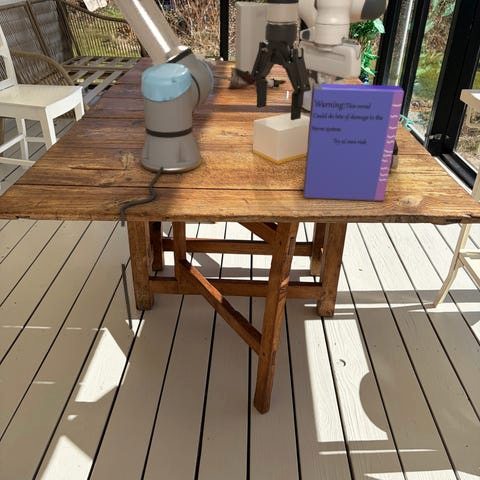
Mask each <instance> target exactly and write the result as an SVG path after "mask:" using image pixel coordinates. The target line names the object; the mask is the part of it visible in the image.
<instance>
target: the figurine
mask: <svg viewBox="0 0 480 480" xmlns="http://www.w3.org/2000/svg"><path fill="white" fill-rule="evenodd" d="M230 69H231V72H230V73H231V74H230V76H229V75H225V74H213V78H214V79H215V78H216V79H223V80H227V81H229V84H228V88H229V89H241V88H247V87H249V86H255V87H256V81H255V78H252V77H251V73H250V72H249V71H245V72H244V71H242V70H240V69H237V68H235V67H232V66H231V67H230ZM266 79H267V80H263V81H267V88H271V89H273V88H280V86H281V85H284V84H286V83H287V80H285V79H275V78H274V77H272V78H266Z"/></svg>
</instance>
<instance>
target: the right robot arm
mask: <svg viewBox="0 0 480 480" xmlns="http://www.w3.org/2000/svg"><path fill="white" fill-rule="evenodd" d="M298 3H299V6H298V17H299V18H300V19H302V20H303V22H304V23H305V25H306V26H307V28H306V29H303V30H301V31H300V32H299V39H300V42H299V44H298V48H303V49H304V61H305V65H306V68H307V69H309V82H310V86H311V90H310V91H306V92H304V97H303V106H301V108H303V109H304V110H306V111H309V112H310V109H311V98H312V87H313V84H346V82H345V79H346V80H354V79H358V78H359V77H360V76H361V72H362V45H361V44H360V42H359V40H358V39H355V38H354V39H352V38H349V36H350V35H349V34H350V27H351V24H354V23H356V24H357V23H362V22H366V21H368V22H374V21H376V20H378V19H379V18H381V16H383V15H384V14H385V13H386V11H387V9H388V8H387V7H388V5H389V0H299V2H298ZM286 92H287V93H286V99H289V91H288V90H287V91H286Z"/></svg>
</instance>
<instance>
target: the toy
mask: <svg viewBox="0 0 480 480" xmlns="http://www.w3.org/2000/svg"><path fill="white" fill-rule="evenodd" d="M193 53H194V55H195V56H196V58H197V59H199V60H201V61H203V62H205V63H207V64H208V63H210V64H211V65H212V66H214V67H217V64H218V63H217V62H216V60H214V59H212V58H210V57H209V58H206V56H205V55H204V54H202V53H200V51H198V50H197V51H195V52H193ZM151 61H152V60H151ZM151 65H152V66H154V63H153V61H152V63H151Z"/></svg>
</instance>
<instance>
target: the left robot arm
mask: <svg viewBox="0 0 480 480" xmlns="http://www.w3.org/2000/svg"><path fill="white" fill-rule="evenodd" d="M113 2H114V3H115V6H116V7H117V8H118V10H119V11H120V13H121V14H122V16H123V17H124V19H125V21H126V22H127V24H128V26H129V27H130V28H131V30H132V31H133V33H134V35H135V36H136V38H137V40H138V41H139V42H140V44H141V45H142V47H143V49H144V50H145V52H146V53H147V55H148V56H149V58H150V59H151V61H153V63H154V66H153V65H152V66H150V67H148V68H146V69H145V70H144V71H143V72H142V74H141V79H140V80H141V85H140V91H141V95H142V97H141V98H142V106H143V115H144V125H145V126H144V127H145V138H144V142H143V146H142V150H141V154H140V162H141V166H142V168H144V169H145V170H146V171H149V172H151V173H156V174H155V176H154V177H153V179H152V180H151V182H150V183H149V185H148V191H149V192H150V193H151V196H150V197H148V198H145V199H139V200H134V201H129V202H127V203H125V204H123V205H122V206H121V207H120V208H119V213H120V227H121V228H123V227H125V225H126V215H125V212H124V211H125V209H127V208H128V207H131V206H134V205H140V204H146V203H149V202H152V201H154V199H155V198H156V192H155V190H154V189H153V186H154V184H155V183H156V181H157V180H158V179H159V177H160V175H161V174H163V175H164V174H165V175H169V174H170V175H172V174H173V175H175V174H182V173H187V172H190V171H193V170H195V169H197V168H198V167H199V166H201V163H202V155H201V151H200V149H199V146H198V143H197V141H196V137H195V135H194V130H193V129H194V126H193V111H195V110H196V109H197V108H199V107H200V106H202V105H203V104H205V103H206V102H207V101H208V99H209V98H210V97H211V95H212V93H213V90H214V87H215V80H214V79H215V78H213V75H214V74H213V72H212V69H211V68H210V66H209V65H208V63H207V62H203V61H201V60H199V59H197V58H196V56H195V55H194V53H195V52H194V51H193V50H192V48H191V47H190V46H187V45H183V44H182V43H181V42H180V40H179V39H178V37H177V35H176V34H175V32H174V30H173V29H172V27H171V25H170V24H169V22H168V20H167V18H166V17H165V15H164V14H163V12H162V11H161V9H160V8H159V6H158V4H157V2H156V1H155V0H113ZM298 2H299V0H265V3H266V21H267V22H268V23H267V25H266V31H265V39H266V40H267V41H263V42H260V43H259V51H258V54H257V57H256V60H255V63H254V66H253V69H252V72H251V77H252V78H255V81H256V86H255V93H256V108H257V109H260V108H265V107H267V100H268V99H267V97H268V95H267V93H268V86H267V81H263V80H267V79H268V78H267V77H268V75H269V74H270V73H271V70H272V69H273V67H274V66H275V65H278V66H281V67H282V69H283V70H285V72H286V75H287V77H288V80H289V82H290V84H291V87H292V89H293V91H292V92H291V102H290V103H291V104H290V113H291V119H290V120H296V119H300V118H301V114H302V107H301V106H303V97H304V92H306V91H310V90H311V86H310V82H309V78H308V74H307V70H306V65H305V61H304V49H303V48H299V47H297V48H296V47H295V45H294V44H295V42H296V41H297V39H298V24H297V23H296V22H298V20H299V15H298V6H299V3H298ZM256 71H257V72H256ZM269 72H270V73H269ZM120 265H121V276H122V285H123V292H124V299H125V306H126V313H127V320H128V328H129V330H133V329H134V328H133V318H132V311H131V304H130V297H129V289H128V283H127V272H126V264H125V263H123V262H122V263H120Z"/></svg>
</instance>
